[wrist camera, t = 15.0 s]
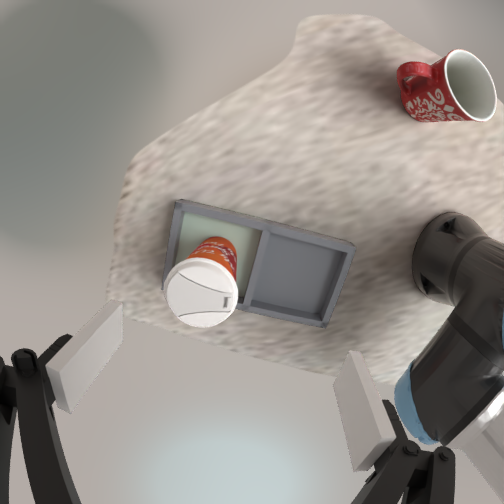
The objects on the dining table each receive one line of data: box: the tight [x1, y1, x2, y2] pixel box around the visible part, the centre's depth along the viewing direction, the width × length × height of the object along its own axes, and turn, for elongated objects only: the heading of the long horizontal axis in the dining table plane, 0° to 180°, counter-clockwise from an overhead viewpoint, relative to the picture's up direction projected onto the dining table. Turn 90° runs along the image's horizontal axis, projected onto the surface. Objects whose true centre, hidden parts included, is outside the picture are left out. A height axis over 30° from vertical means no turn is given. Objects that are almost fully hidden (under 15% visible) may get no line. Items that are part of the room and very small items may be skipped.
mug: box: [397, 49, 497, 122], centre depth 28 cm, size 13×9×14 cm
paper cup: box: [164, 236, 238, 328], centre depth 35 cm, size 8×8×14 cm
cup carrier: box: [161, 199, 356, 328], centre depth 41 cm, size 25×13×3 cm, turn 76°
